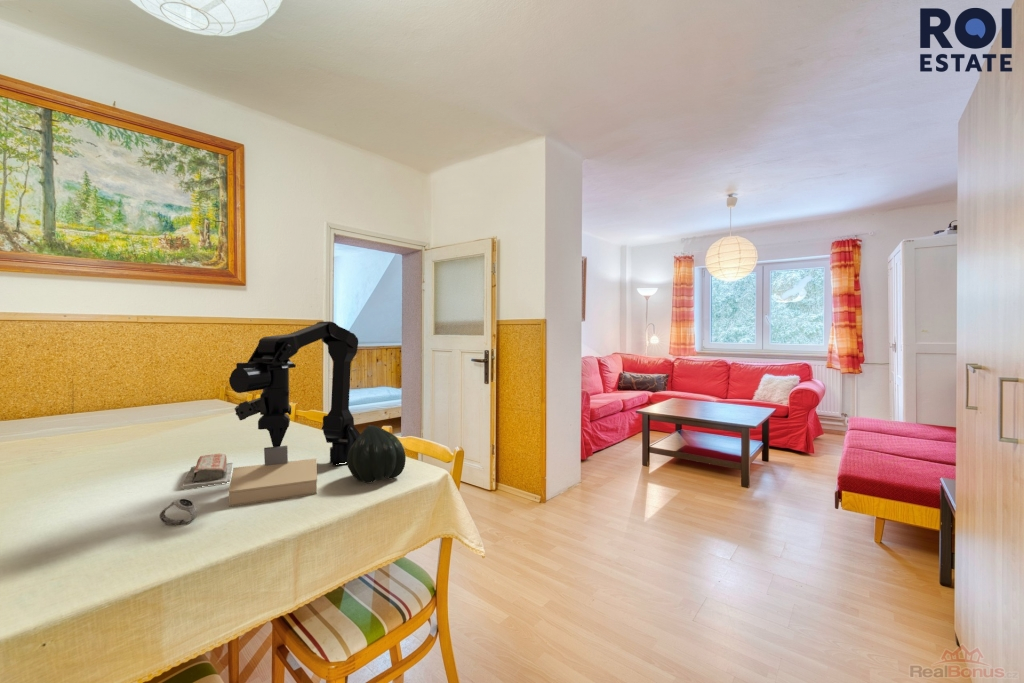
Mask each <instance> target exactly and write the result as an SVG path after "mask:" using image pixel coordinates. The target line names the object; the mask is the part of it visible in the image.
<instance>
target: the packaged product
mask: <svg viewBox="0 0 1024 683" xmlns="http://www.w3.org/2000/svg"><path fill="white" fill-rule="evenodd" d="M231 471H232V472H233V462H230V463H229V462H228V461H227V455H226V454H224V453H214V454H205V455H201V456H199V458H198V459H197V461H196V464H195V466H194V465H193V466H191V467H190V469H189V472H188V473H187V475H186V478H185V480H184V482H183V484H182V489H187V490H191V489H190V488H194V489H198V488H197V487H201V488H203V487H202V486H208V485H214V484H221V485H223V484H222V483H227V482H231V477H232V472H231ZM214 486H215V485H214ZM208 487H209V486H208Z"/></svg>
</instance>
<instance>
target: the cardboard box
mask: <svg viewBox="0 0 1024 683" xmlns="http://www.w3.org/2000/svg"><path fill="white" fill-rule="evenodd" d="M317 483H318V480H317V481H314V482H307V483H300V484H292V485H285V486H277V487H270V488H262V489H255V490H248V491H240V492H233V493H229V492H228V506H229V507H235V506H243V505H249V504H256V503H263V502H271V501H277V500H284V499H291V498H296V497H304V496H310V495H316V494H317V487H318V486H317Z"/></svg>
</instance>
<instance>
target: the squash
mask: <svg viewBox="0 0 1024 683" xmlns="http://www.w3.org/2000/svg"><path fill="white" fill-rule="evenodd" d="M406 462H407V461H406V452H405V449H404V446H403V444H402V442H401V440H400V439H399V438H398V437H397V436H396V435H395V434H393V433H392V432H389V431H387V430H386V429H384V428H381V427H378V426H377V425H372V424H369V425H368V426H367V427H365V428H364V430H363V431H362V432H361V433H360V436H359V437H358V438H357V439H356V440H355V442H354V443H353V444H352V446H351V447H350V450H349V452H348V457H347V464H346V465H347V468H348V470H349V472H350V473H351V475H352V476H353V477H354V479H356V480H357V481H361V482H364V483H366V484H367V483H369V484H371V483H373V482H376V480H377V481H381V480H382V479H383V478H386V479H389V478H392V479H394V478H397V477H398V476H400V475H401V474H402V473H403V471H404V469H405V466H406Z"/></svg>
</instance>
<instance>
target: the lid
mask: <svg viewBox="0 0 1024 683" xmlns="http://www.w3.org/2000/svg"><path fill="white" fill-rule="evenodd" d="M263 451H264V452H263V453H264V454H263V455H264V456H263V457H264V463H263V464H255V465H246V466H245V465H244V466H238V467H232V472H231V479H230V483H229V488H228V494H229V493H233V492H240V491H248V490H255V489H262V488H270V487H277V486H285V485H292V484H300V483H307V482H314V481H317V482H318V472H317V470H318V469H317V467H318V466H317V458H308V459H299V460H291V461H289V460H288V454H289V451H288V445H280V446H277V447H273V446H268V447H264V448H263Z"/></svg>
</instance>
